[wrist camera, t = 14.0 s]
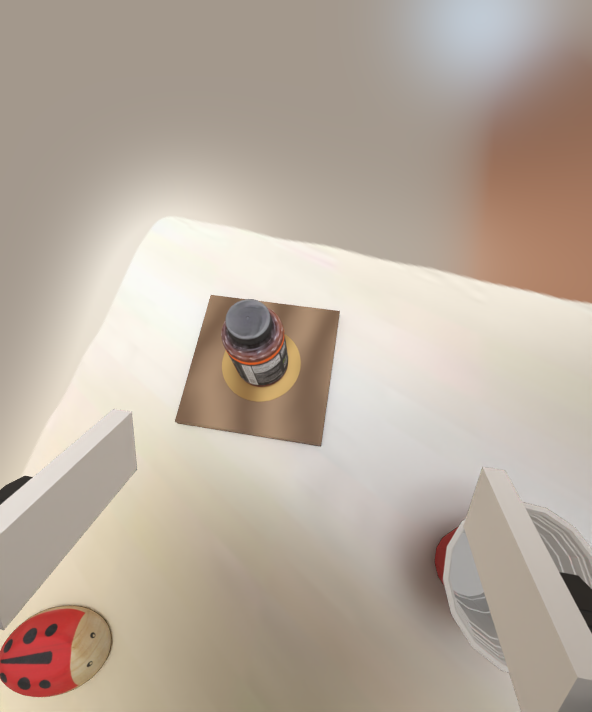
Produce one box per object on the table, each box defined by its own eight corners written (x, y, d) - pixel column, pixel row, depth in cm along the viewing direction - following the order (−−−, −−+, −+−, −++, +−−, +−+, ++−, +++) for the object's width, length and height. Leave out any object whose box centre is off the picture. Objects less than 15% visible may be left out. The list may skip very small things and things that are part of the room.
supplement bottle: (232, 346, 46) (209, 295, 35) (282, 335, 46) (274, 281, 36) (241, 394, 44) (218, 355, 33) (294, 382, 44) (288, 339, 33)
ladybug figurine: (113, 681, 35) (93, 698, 32) (2, 701, 35) (-30, 720, 32) (115, 596, 38) (96, 603, 35) (11, 613, 38) (-17, 623, 34)
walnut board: (339, 315, 48) (339, 310, 47) (320, 446, 42) (321, 444, 41) (212, 299, 50) (210, 294, 49) (177, 423, 44) (174, 420, 43)
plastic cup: (389, 596, 37) (423, 629, 26) (427, 486, 40) (471, 473, 29) (506, 658, 35) (598, 725, 24) (535, 536, 38) (627, 544, 27)
